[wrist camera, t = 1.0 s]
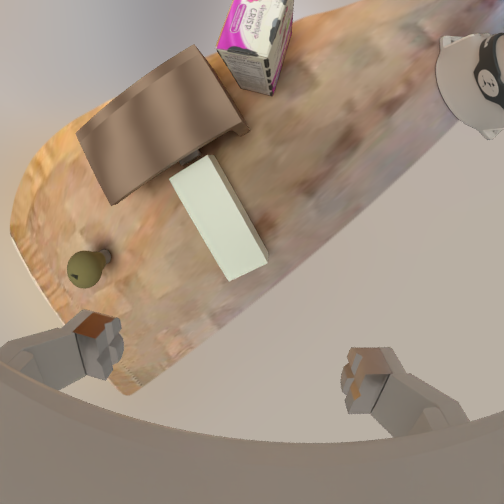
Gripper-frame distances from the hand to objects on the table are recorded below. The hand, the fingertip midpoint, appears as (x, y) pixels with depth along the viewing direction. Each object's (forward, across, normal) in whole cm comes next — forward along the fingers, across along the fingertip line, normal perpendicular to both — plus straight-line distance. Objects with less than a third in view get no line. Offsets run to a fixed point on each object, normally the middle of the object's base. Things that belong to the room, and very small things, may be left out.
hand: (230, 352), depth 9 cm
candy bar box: (+32, +1, -22) cm, 39 cm away
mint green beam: (+32, +5, +1) cm, 33 cm away
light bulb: (+33, +25, +10) cm, 43 cm away
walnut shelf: (+32, +13, -10) cm, 36 cm away
